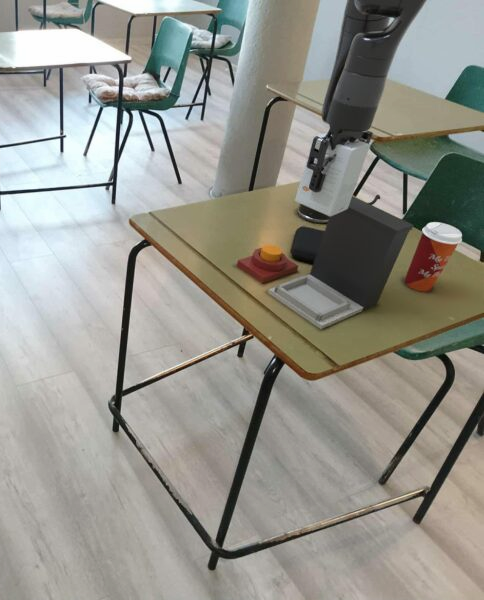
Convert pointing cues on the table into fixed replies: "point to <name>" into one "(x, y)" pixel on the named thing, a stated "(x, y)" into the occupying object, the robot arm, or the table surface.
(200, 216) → the table surface
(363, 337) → the table surface
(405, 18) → the robot arm
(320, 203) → the small box
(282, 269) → the button panel
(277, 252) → the button
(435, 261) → the paper cup
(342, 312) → the coffee dock
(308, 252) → the carrying case
